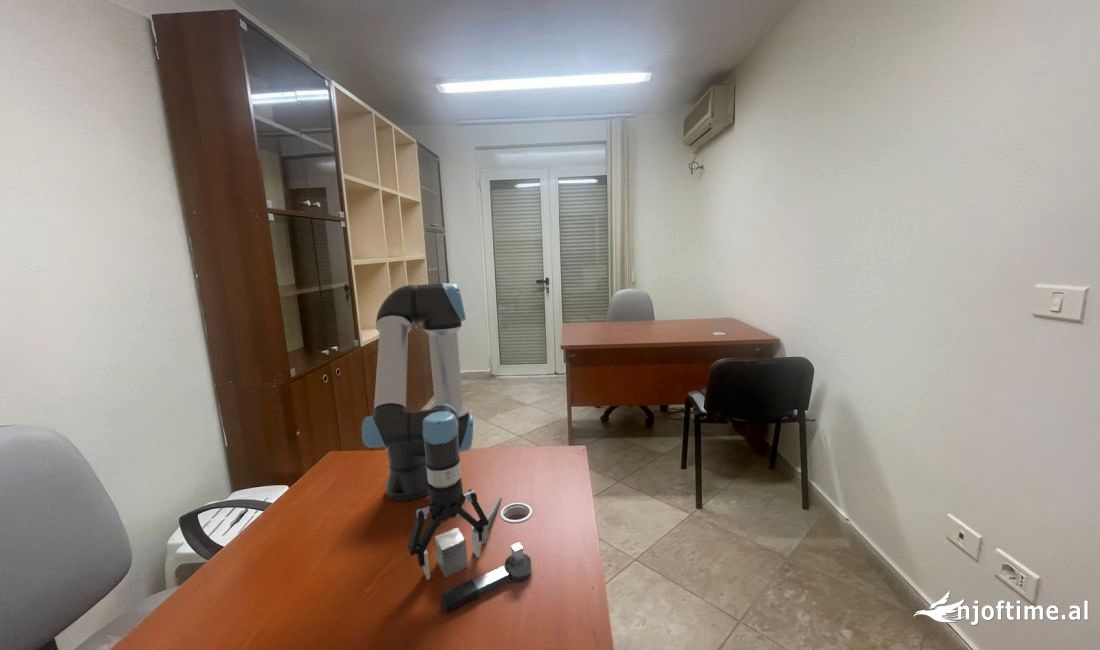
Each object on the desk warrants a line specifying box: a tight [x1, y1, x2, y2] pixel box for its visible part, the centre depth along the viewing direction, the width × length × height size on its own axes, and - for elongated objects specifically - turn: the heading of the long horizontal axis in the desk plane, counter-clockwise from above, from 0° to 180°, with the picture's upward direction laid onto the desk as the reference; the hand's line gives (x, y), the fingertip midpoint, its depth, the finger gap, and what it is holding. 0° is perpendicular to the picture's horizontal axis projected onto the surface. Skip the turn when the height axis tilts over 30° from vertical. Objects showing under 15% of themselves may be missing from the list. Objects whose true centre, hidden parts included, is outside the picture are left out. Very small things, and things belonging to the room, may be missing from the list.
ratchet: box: [440, 542, 532, 615], centre depth 90 cm, size 6×20×6 cm, turn 122°
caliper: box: [481, 496, 503, 545], centre depth 113 cm, size 20×1×6 cm, turn 175°
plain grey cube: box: [434, 527, 469, 578], centre depth 97 cm, size 6×6×7 cm
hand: (452, 564), depth 97 cm, fingers open, 11 cm apart
